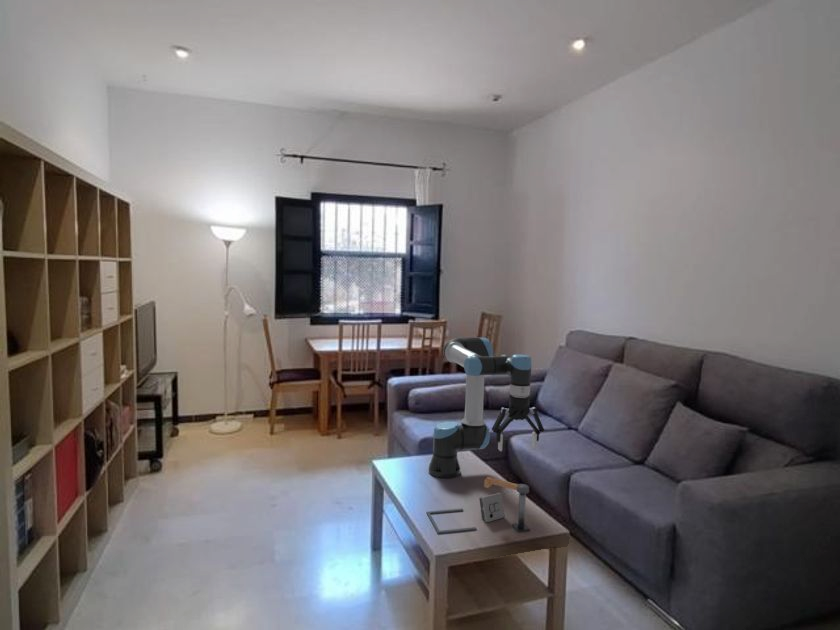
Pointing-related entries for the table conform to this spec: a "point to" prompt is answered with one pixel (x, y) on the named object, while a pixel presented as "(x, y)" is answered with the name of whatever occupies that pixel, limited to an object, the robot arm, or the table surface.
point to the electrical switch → (492, 507)
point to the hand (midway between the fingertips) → (517, 449)
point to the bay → (447, 530)
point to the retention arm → (506, 485)
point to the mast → (521, 515)
